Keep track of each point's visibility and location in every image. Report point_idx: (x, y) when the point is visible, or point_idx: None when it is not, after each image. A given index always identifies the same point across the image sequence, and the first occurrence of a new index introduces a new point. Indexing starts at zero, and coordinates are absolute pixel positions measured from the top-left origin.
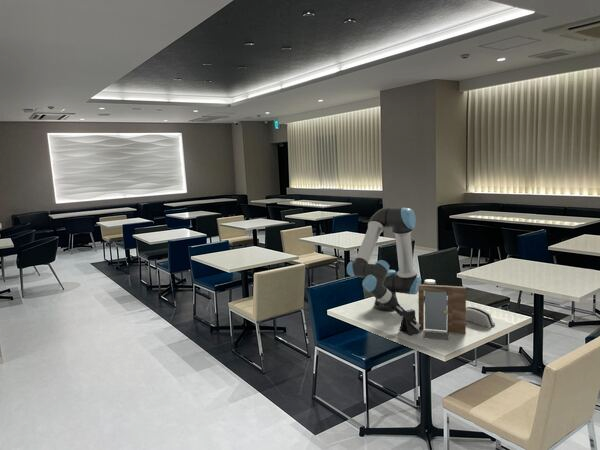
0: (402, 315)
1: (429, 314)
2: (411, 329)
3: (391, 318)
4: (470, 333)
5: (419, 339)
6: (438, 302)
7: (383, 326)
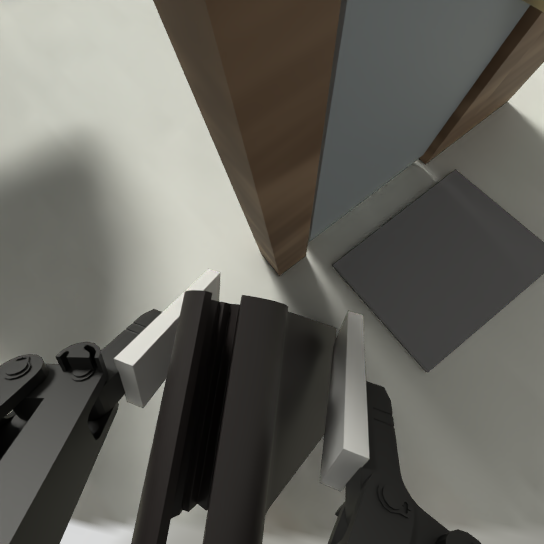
0: (123, 392)
1: (366, 134)
2: (321, 406)
3: (15, 258)
4: None
5: (428, 421)
6: None
7: None
